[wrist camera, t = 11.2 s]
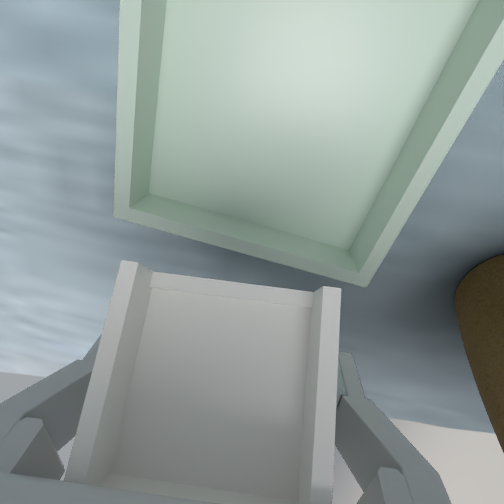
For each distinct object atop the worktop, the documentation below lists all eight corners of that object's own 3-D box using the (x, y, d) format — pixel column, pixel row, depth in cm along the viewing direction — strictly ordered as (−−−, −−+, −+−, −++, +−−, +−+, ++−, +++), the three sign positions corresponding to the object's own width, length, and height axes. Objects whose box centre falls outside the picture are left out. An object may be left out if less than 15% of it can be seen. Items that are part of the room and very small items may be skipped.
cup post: (278, 419, 14) (329, 570, 5) (176, 404, 14) (51, 527, 5) (288, 313, 15) (341, 288, 6) (195, 301, 15) (120, 260, 6)
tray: (534, -79, 14) (620, -136, 10) (353, 259, 24) (366, 287, 20) (171, -218, 13) (130, -336, 9) (138, 197, 22) (113, 217, 19)
